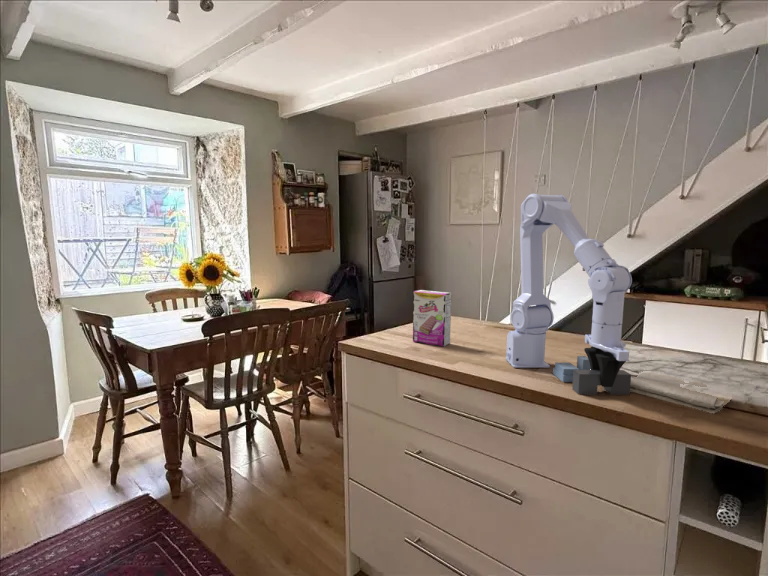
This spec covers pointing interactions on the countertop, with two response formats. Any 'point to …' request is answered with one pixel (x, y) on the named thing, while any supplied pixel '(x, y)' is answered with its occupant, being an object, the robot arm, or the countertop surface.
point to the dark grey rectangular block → (591, 379)
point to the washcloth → (674, 391)
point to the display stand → (570, 368)
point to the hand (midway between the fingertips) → (602, 383)
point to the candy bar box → (431, 317)
